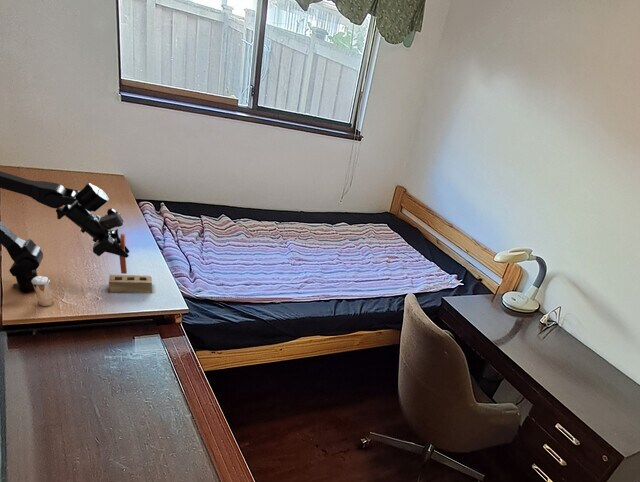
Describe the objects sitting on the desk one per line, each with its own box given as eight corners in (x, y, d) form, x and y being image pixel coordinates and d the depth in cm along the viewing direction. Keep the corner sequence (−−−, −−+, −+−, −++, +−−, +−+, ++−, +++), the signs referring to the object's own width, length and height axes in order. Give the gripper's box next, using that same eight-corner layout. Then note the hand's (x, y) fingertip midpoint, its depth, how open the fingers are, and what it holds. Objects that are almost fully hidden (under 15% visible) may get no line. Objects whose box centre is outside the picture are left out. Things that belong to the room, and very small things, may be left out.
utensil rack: (111, 284, 159) (109, 274, 157) (152, 285, 165) (151, 275, 163) (110, 292, 156) (108, 282, 153) (152, 292, 161) (151, 282, 159)
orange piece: (120, 275, 153) (116, 236, 146) (121, 269, 156) (118, 231, 149) (127, 275, 154) (123, 236, 146) (128, 270, 157) (124, 232, 149)
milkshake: (48, 309, 141) (42, 280, 135) (33, 304, 141) (26, 275, 136) (60, 303, 145) (54, 275, 139) (45, 298, 145) (38, 270, 139)
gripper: (100, 215, 134) (144, 252, 144) (107, 194, 147) (147, 229, 158) (73, 238, 135) (119, 272, 145) (82, 215, 149) (123, 248, 159)
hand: (128, 254), depth 152 cm, fingers closed on orange piece, 3 cm apart
